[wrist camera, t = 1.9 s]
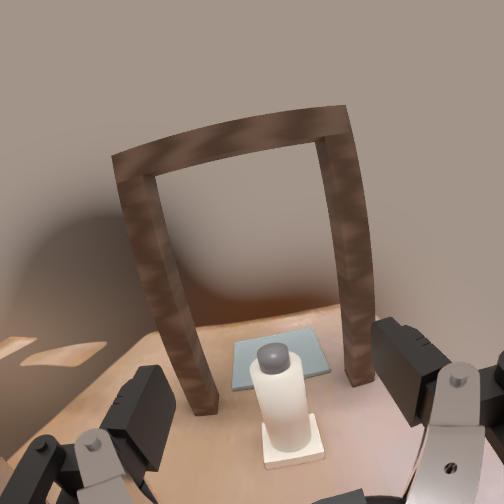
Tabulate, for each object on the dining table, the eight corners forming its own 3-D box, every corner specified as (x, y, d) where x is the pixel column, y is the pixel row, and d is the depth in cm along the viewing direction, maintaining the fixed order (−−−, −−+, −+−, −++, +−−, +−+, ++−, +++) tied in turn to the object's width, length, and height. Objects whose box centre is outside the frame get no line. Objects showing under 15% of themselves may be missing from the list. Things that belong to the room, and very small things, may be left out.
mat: (232, 391, 36) (231, 388, 36) (235, 344, 49) (234, 342, 49) (330, 371, 36) (330, 368, 36) (312, 329, 49) (311, 326, 49)
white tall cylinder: (266, 469, 22) (235, 379, 19) (263, 430, 28) (237, 339, 25) (324, 458, 22) (316, 364, 19) (314, 420, 28) (301, 326, 25)
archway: (195, 416, 32) (111, 155, 25) (199, 397, 36) (126, 158, 29) (374, 380, 31) (345, 104, 24) (364, 364, 35) (334, 113, 28)
